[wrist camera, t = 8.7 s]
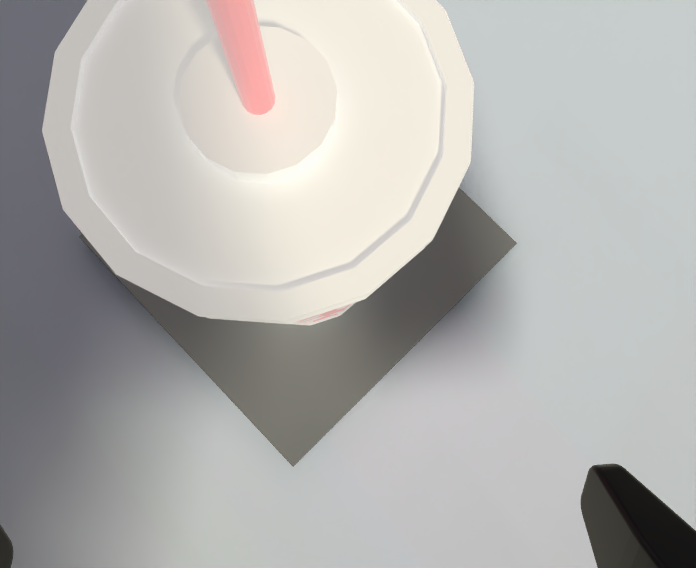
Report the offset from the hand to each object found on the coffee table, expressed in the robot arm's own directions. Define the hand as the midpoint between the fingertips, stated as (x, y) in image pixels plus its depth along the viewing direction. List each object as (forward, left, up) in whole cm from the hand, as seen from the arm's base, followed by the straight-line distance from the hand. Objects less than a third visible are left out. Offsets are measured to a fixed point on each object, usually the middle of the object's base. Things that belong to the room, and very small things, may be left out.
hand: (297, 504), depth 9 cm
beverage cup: (+4, +4, -8) cm, 9 cm away
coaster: (+4, +5, -8) cm, 10 cm away
